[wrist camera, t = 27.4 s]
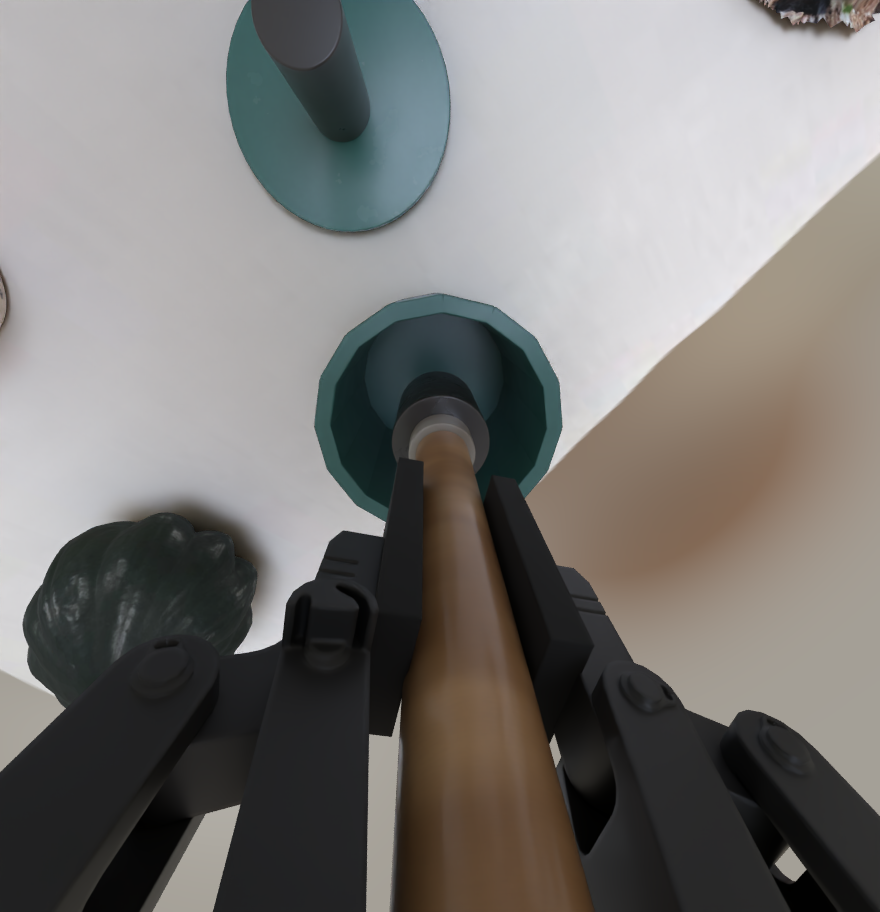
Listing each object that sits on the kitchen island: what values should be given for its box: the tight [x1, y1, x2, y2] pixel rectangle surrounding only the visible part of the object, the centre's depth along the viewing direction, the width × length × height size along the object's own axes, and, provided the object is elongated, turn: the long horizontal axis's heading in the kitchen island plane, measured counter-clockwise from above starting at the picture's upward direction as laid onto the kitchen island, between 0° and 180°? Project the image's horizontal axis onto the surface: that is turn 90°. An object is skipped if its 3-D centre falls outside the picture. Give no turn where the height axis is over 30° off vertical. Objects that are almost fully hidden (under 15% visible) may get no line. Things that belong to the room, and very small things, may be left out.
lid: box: [226, 0, 450, 232], centre depth 21 cm, size 13×13×10 cm
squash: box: [23, 513, 257, 708], centre depth 32 cm, size 14×15×15 cm
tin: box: [314, 293, 562, 522], centre depth 26 cm, size 12×12×13 cm
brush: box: [390, 371, 595, 912], centre depth 14 cm, size 4×4×22 cm
